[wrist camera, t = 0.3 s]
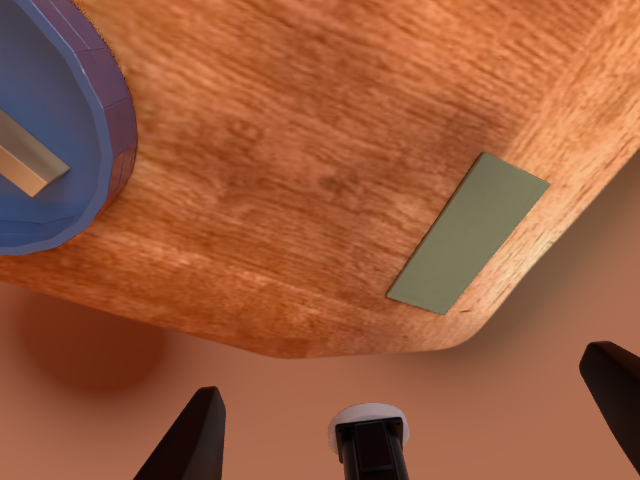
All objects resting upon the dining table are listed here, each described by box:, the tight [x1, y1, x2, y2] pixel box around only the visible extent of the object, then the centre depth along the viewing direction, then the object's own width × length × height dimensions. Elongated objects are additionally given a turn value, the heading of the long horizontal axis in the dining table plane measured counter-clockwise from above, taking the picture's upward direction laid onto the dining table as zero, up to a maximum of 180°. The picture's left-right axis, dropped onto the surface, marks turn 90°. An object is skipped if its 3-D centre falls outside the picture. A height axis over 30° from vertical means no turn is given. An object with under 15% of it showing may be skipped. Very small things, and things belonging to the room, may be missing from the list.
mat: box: [386, 151, 551, 315], centre depth 26 cm, size 13×6×1 cm, turn 156°
